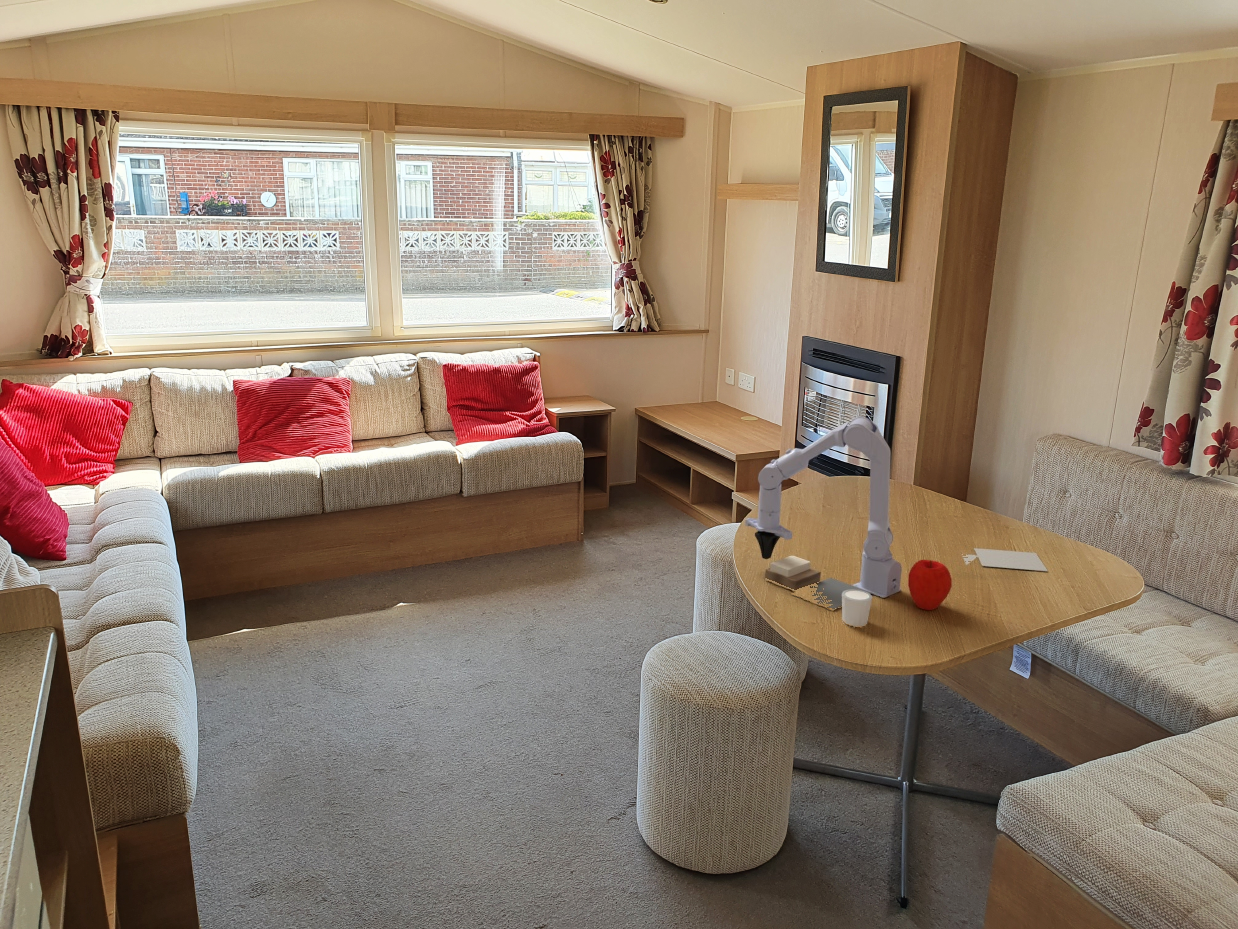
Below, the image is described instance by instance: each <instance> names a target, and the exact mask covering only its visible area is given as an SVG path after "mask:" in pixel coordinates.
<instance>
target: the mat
mask: <svg viewBox="0 0 1238 929" xmlns="http://www.w3.org/2000/svg"><path fill="white" fill-rule="evenodd" d="M816 584H817V585H818V587H815V586H814V588H817V590H816V594H815V593H814V595H812V596H816V595H817V596H818V594H817V592H818V593H819V592H823V593H822V594H821V596H822V597H823V596H827V598H826V597H825V598H826V599H824V597H823V599H824V600H825V602H826V600H827V601H828V600H832V601H830V602H828V603H827V602H826V604H833V605H831V606H829V607H827V608H832V609H835V608H838V607H841V606H842V592H843V591H846V590H851V589H854V590H862V591H865V592H868V593H869V594H872V593H871V592H869V591H866V590H863V589H860V588H858V587H855V586H853V584H849V583H847V582H844V581H841V580H838V579H836V578H832V577H829V578H826V579H824V580H820V582H819V583H816ZM810 588H813V586H812V587H811V586H810ZM823 588H824V590H823ZM811 592H812V591H811ZM813 592H814V591H813ZM872 595H873V594H872ZM819 596H820V594H819ZM821 596H820V597H818V598H816V599H814V600H820V601H819V602H817V603H818V604H819V603H820V602H821V603H822V604H823V602H824V600H823V599H822V597H821ZM820 598H821V599H820ZM821 600H822V601H823V602H822V601H821ZM825 602H824V603H825ZM821 603H820V604H821ZM823 605H824V604H823Z"/></svg>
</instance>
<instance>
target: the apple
mask: <svg viewBox="0 0 1238 929" xmlns="http://www.w3.org/2000/svg"><path fill="white" fill-rule="evenodd" d="M907 580H908V581H907V582H908V584H907V585H908V590H909V593H910V596H911V598H912V601H913V602H914V604H915V605H916V606H917V607H918V608H920V609H922V610H927V611H933V610H936V609H938V608H939V607H940V605H941V604H942V603H944V601H945V600H946V599H947V597H948V595H949V593H950V592H951V589H952V582H953V580H952V577H951V572H950V571H949V569H948V567H947V566H946V565H945V564H943V563H942V562H939V561H936V560H932V559H920V560H918V561H916V562H915V563H914V564H913V566H912V567H911V568H910V570H909V572H908V579H907Z"/></svg>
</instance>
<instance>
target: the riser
mask: <svg viewBox="0 0 1238 929" xmlns="http://www.w3.org/2000/svg"><path fill="white" fill-rule="evenodd" d="M821 573H822V572H821V571H820V570H816V569H815V568H811V567H810V569H809V570H806V571H804V572H801V573H798V574H795V575H793V576H790V577H786V576H783V575H781V574H778V573H775V572H773V571H770V567H769V568H766V569H765V573H764V574H765V575H764V579H765V578H767V579H769V580H772V581H775V582H777V583H779V584H781V585H784V586H786V587H789V588H791V589H794V590H797V589H799V588H802V587H805V586H808V585H811V584H814V583H817V582H819V581H820V582H821Z"/></svg>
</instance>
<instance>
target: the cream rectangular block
mask: <svg viewBox="0 0 1238 929" xmlns="http://www.w3.org/2000/svg"><path fill="white" fill-rule="evenodd" d="M811 564H812V563H811V561H809V560H807V559H803V558H801V557H798V556H795V555H789V556H787V557H783V558H781V559H778V560H776V561H773V562H770V563H769V568H770V571H773V572H775V573H778V574H781V575H783V576H786V577H790V576H793V575H795V574H798V573H801V572H804V571H806V570H809V569H810V568H811Z"/></svg>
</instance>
